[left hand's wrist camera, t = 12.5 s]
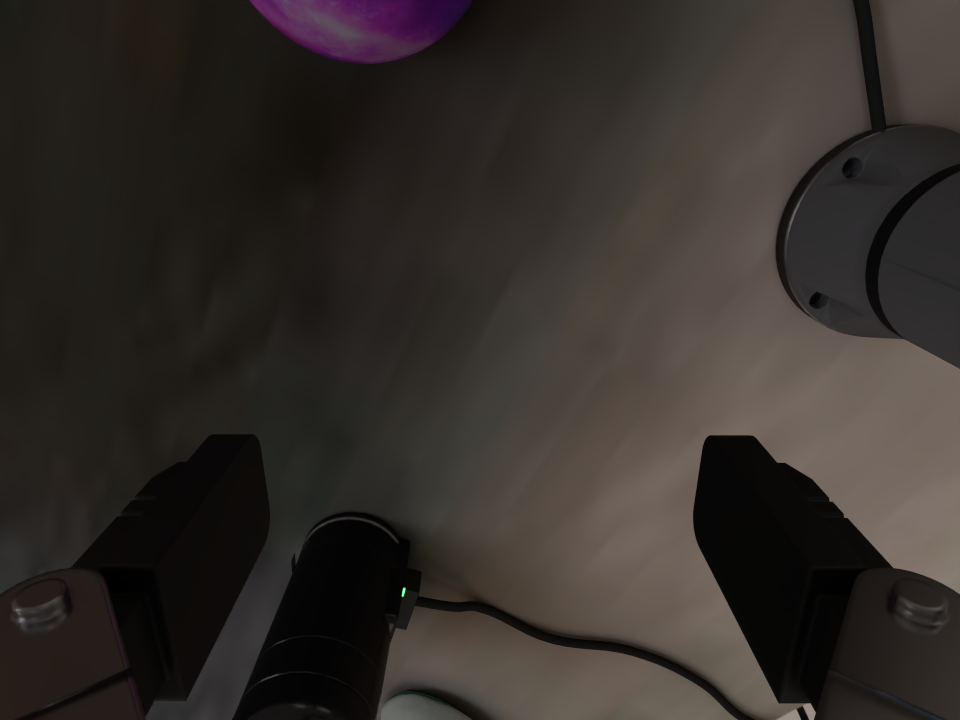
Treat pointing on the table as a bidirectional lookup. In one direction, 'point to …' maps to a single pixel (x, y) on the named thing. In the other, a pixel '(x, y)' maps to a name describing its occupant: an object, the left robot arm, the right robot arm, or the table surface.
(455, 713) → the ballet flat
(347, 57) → the decorative orb
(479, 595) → the table surface
